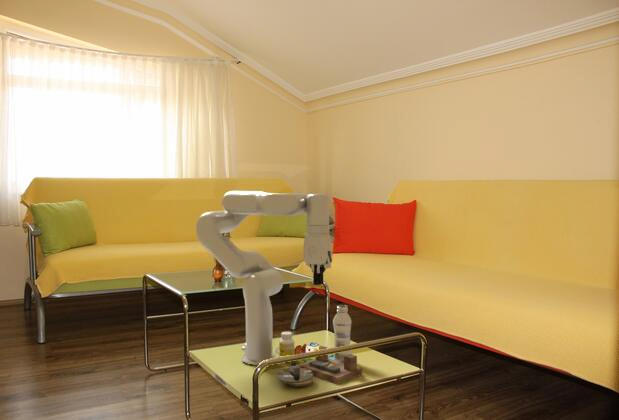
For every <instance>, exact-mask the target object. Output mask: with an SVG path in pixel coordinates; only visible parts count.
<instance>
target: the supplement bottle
mask: <svg viewBox="0 0 619 420" xmlns="http://www.w3.org/2000/svg"><path fill="white" fill-rule="evenodd" d="M280 336H281V338H280V340H279V345H278V346H279V357H280V356H286V355H293V354H294V353H295V340H294V338H293V332H291V331H282V332H280Z"/></svg>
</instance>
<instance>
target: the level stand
mask: <svg viewBox="0 0 619 420" xmlns="http://www.w3.org/2000/svg"><path fill="white" fill-rule="evenodd" d="M318 347H319V349H326V348H328V346H327V347H326V346H323V345H321V346H318ZM298 365H299V366H300V368H304V369H308V370H311V371H312V372H313V375H314V378H319V379H322V380H324V381H327V382H330V383H333V384H336V385H339V384H342V383H344V381H345V382H347V381H349V379H350V380H352V379H354V377H355V378H357V377H360V376H362V375H363V368H361V367H358V356H357V355H355V354H353V353H352V354H348V355H345V356H344V363H342V362H338V361H335V360H334V359H332V358H329V354H328V355H323V356H318V357H316V356H315V359H312V360H309V361H306V362H302V363H299V364H298ZM359 375H360V376H359Z"/></svg>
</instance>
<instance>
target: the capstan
mask: <svg viewBox="0 0 619 420" xmlns="http://www.w3.org/2000/svg"><path fill="white" fill-rule="evenodd" d="M289 363H290V366H289V367H288V368H284V369H280V370H279V371H277V372H276V379H277V380H278V381H279V382H282V383H283V382H284V384H285V385H287V386H289V387H292V388H306V387H309V386H311V385H313V384H314V378H315V376H314V375H313V372H312V371H311V370H308V369H304V368H300V366H299V364H297V360H296V361H291V362H289Z"/></svg>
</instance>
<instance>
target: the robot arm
mask: <svg viewBox="0 0 619 420" xmlns="http://www.w3.org/2000/svg"><path fill="white" fill-rule="evenodd" d="M221 206H222V208H223V209H224V210H216V211H215V210H214V211H208V212H204V213H203V214H201V215H200V216H199V218H197V220H196V224H195V225H196V226H195V233H196V236H197V239H198V241H199V243H200V244H201V245H202V246H203V248H204V249H205V250H206V251H208V252H209V253H210V254H211V255H212V256H213V258H215V260H216V261H217V262H218V263H219V264H220V265H221V266H222V267H223V268H224V269H225V270H226V271H227V272H228V273H229V275H231V276H232V277H233V278H236V279H242V278H245V279H244V280H243V284H242V294H243V298H244V304H245V305H244V307H245V309H244V310H245V344H244V346H241V351H243V352H244V355H242V357H241V362H242V361H243V362H245V363H248V364H247V365H249V364H257V365H256V366H259V365H258V364H259V363H260V362H262V361H263V360H266V359H270V358H274V357H277V358H278V355H277V354H276V353H273V352H274V350H273V349H274V348H273V345H274V342H273V340H274V339H273V308H272V304H271V303H272V302H271V300H270V297H271V296H274V295H276V294H277V293H279V292H280V291H281V290H282V288H283V286H284V279H283V277H282V275H281V273H280V272H279V270H278V269H277V268H276V267H275V266H273V264H272V263H271V262H269V261H268V259H267V258H265V257H264V255H263V254H262V253H260V252H258V251H256V250H254V249H253V250H252V249H247V250H246V249H245V250H242V249H240V248H239V247H238V246H237V245H235V243H234V242H233V241H232V240H231V239H229V238H228V237H225V236H224V235H223V234H225V233H226V234H227V233H230V232H232V231H234V230H236V228H238V227H239V226H240V225H241V224H242V222H244V221H245V219H247V218H248V216H249V215H250V216H251V215H253V216H254V215H255V216H277V217H278V216H280V217H281V216H283V217H292V216H301V215H306V227H305V230H306V233H305V234H304V237H303V238H304V239H303V250H302V261H303V262H304V263H305V265H306V266H307V267H309V268H310V269H311V272H312V274H313V276H312V278H313V280H312V284H313V285H314V286H315V285H316V286H321V285H324V273H325V271H326V270H327V269H331V268H332V264H331V263H332V262H333V245H332V237H331V234H330V197H329V195H328V194H326V193H303V192H291V193H289V192H287V193H282V192H281V193H275V192H273V193H271V192H266V191H264V190H230V191H228V192H226V193H225V194H224V195H223V196H222V199H221ZM245 363H244V364H245Z"/></svg>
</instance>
